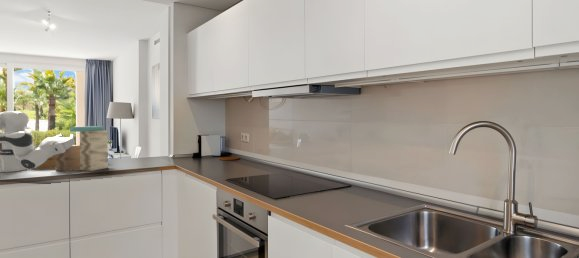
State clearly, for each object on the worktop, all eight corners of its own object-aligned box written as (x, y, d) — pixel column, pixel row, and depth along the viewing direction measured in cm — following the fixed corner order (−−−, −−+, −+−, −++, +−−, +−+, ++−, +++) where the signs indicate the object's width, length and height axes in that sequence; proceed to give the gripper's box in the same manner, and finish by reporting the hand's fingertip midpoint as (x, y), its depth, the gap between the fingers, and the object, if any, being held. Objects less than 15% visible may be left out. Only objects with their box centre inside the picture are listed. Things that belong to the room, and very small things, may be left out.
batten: (70, 131, 214) (70, 127, 214) (100, 130, 237) (100, 126, 237) (74, 131, 213) (73, 127, 213) (103, 130, 236) (103, 126, 236)
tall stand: (80, 170, 225) (79, 131, 224) (97, 167, 239) (96, 130, 238) (91, 170, 223) (90, 131, 222) (107, 167, 237) (107, 130, 236)
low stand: (55, 170, 222) (55, 146, 221) (74, 167, 235) (73, 144, 235) (65, 171, 220) (65, 146, 219) (83, 168, 233) (83, 145, 233)
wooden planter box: (54, 169, 229) (54, 152, 229) (18, 169, 230) (18, 152, 230) (78, 164, 254) (78, 149, 254) (45, 164, 255) (45, 149, 254)
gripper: (38, 151, 203) (56, 139, 214) (66, 152, 198) (83, 139, 209) (33, 143, 199) (52, 130, 211) (61, 144, 194) (78, 131, 206)
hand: (67, 135), depth 210 cm, fingers open, 8 cm apart
